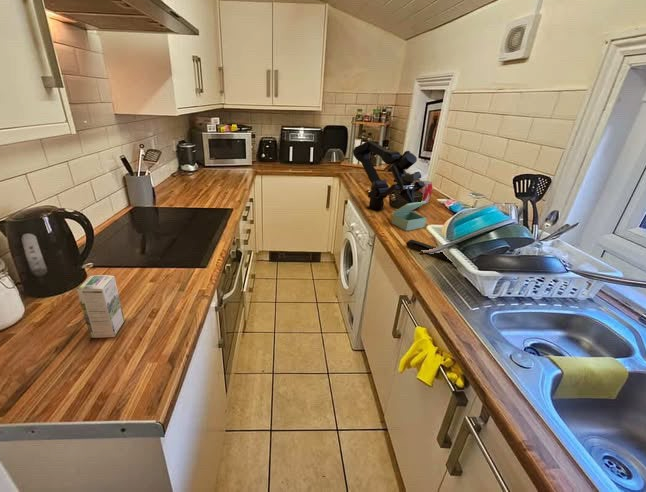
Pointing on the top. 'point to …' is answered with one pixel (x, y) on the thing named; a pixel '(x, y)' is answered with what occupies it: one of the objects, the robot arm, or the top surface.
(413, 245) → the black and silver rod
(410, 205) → the lid
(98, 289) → the syrup box
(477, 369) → the top surface
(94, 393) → the top surface
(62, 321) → the top surface
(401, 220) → the keepsake box
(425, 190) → the soda can
